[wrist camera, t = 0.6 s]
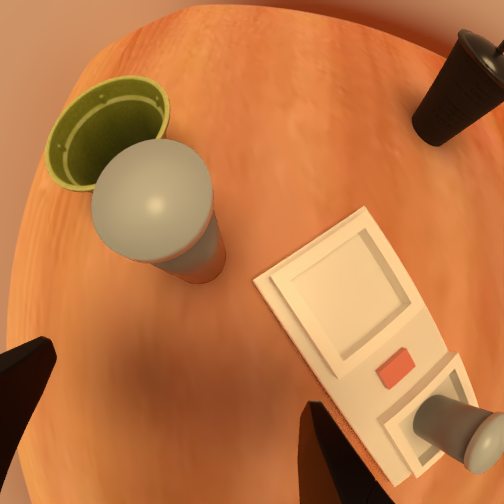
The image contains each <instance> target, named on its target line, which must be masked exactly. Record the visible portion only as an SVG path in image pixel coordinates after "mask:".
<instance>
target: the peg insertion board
mask: <svg viewBox="0 0 504 504" xmlns="http://www.w3.org/2000/svg"><path fill="white" fill-rule="evenodd" d="M252 282H253V284H254V285H255V287H256V288H257V290H258V291H259V293H260V294H261V296H262V297H263V299H264V300H265V302H266V303H267V305H268V306H269V308H270V309H271V311H272V312H273V314H274V315H275V317H276V318H277V320H278V321H279V323H280V324H281V326H282V327H283V329H284V330H285V332H286V333H287V335H288V336H289V338H290V339H291V341H292V342H293V344H294V345H295V347H296V348H297V350H298V351H299V353H300V354H301V356H302V357H303V358H304V360H305V361H306V363H307V364H308V366H309V367H310V369H311V370H312V372H313V373H314V375H315V376H316V378H317V379H318V381H319V382H320V383H321V385H322V386H323V388H324V389H325V391H326V392H327V394H328V395H329V397H330V398H331V399H332V401H333V402H334V404H335V405H336V407H337V408H338V410H339V411H340V413H341V414H342V415H343V417H344V418H345V420H346V421H347V423H348V424H349V425H350V427H351V428H352V430H353V431H354V433H355V434H356V435H357V437H358V438H359V440H360V441H361V443H362V444H363V445H364V447H365V448H366V450H367V451H368V452H369V454H370V455H371V457H372V458H373V460H374V461H375V462H376V464H377V465H378V467H379V468H380V469H381V471H382V472H383V474H384V475H385V476H386V478H387V479H388V481H389V482H390V483H391V484H392V485H393V486H394V487H396V486H397V485H398V484H400V483H401V482H402V481H404V480H405V479H406V478H407V477H409V476H410V475H411V474H412V475H413V476H415V477H416V478H418V477H419V476H420V475H421V474H423V473H424V472H425V471H426V470H427V469H428V468H430V467H431V466H432V465H433V464H434V463H435V462H436V461H437V460H438V459H439V458H441V457H442V456H443V455H444V454H445V453H446V454H448V455H449V456H451V457H453V458H454V459H456V460H458V461H459V462H461V463H463V464H464V466H465V468H466V469H467V470H469V471H471V472H473V473H474V474H481V473H484V472H485V471H487V470H488V469H490V468H491V467H492V466H493V465H494V464H495V463H496V462H497V461H498V459H499V458H500V457H501V455H502V454H503V452H504V413H502V412H496V413H493V412H490V411H487V410H484V409H481V408H479V406H478V403H477V400H476V397H475V394H474V392H473V389H472V386H471V383H470V381H469V378H468V375H467V373H466V370H465V368H464V365H463V363H462V360H461V358H460V355H459V353H458V352H452V351H448V349H447V347H446V345H445V343H444V341H443V339H442V336H441V334H440V332H439V330H438V328H437V326H436V324H435V322H434V320H433V318H432V316H431V314H430V312H429V310H428V309H427V307H426V305H425V303H424V301H423V299H422V297H421V296H420V294H419V292H418V290H417V288H416V287H415V285H414V283H413V281H412V279H411V278H410V276H409V274H408V273H407V271H406V269H405V268H404V266H403V264H402V263H401V261H400V259H399V258H398V256H397V254H396V253H395V251H394V250H393V248H392V246H391V245H390V243H389V242H388V240H387V239H386V237H385V235H384V234H383V232H382V231H381V229H380V228H379V226H378V225H377V223H376V222H375V220H374V219H373V217H372V216H371V215H370V213H369V212H368V210H367V209H366V207H365V206H363V207H361V208H360V209H359V210H357V211H356V212H354V213H353V214H351V215H350V216H348V217H347V218H345V219H344V220H342V221H341V222H340V223H338V224H337V225H335V226H334V227H332V228H331V229H329V230H328V231H326V232H325V233H323V234H322V235H320V236H319V237H317V238H316V239H314V240H313V241H311V242H310V243H308V244H307V245H305V246H304V247H302V248H301V249H299V250H298V251H296V252H295V253H293V254H292V255H290V256H289V257H287V258H286V259H284V260H283V261H281V262H280V263H278V264H277V265H275V266H274V267H272V268H271V269H269V270H267V271H266V272H264V273H263V274H261V275H260V276H258V277H257V278H255V279H254V280H253V281H252Z"/></svg>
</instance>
